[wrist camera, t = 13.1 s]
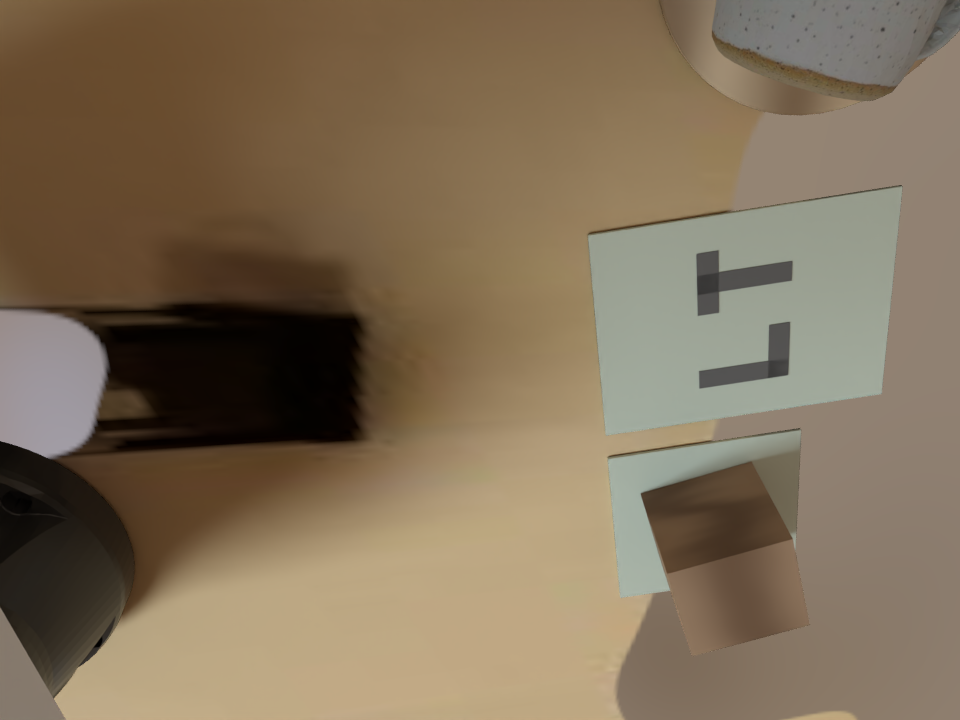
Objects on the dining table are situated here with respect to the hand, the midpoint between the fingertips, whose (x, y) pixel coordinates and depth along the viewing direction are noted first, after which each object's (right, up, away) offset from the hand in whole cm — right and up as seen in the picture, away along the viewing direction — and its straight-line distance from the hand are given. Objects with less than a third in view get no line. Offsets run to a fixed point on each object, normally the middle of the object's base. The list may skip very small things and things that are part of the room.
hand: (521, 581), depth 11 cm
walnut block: (+12, -6, +37) cm, 39 cm away
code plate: (+12, +5, +31) cm, 33 cm away
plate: (+12, -6, +37) cm, 39 cm away
